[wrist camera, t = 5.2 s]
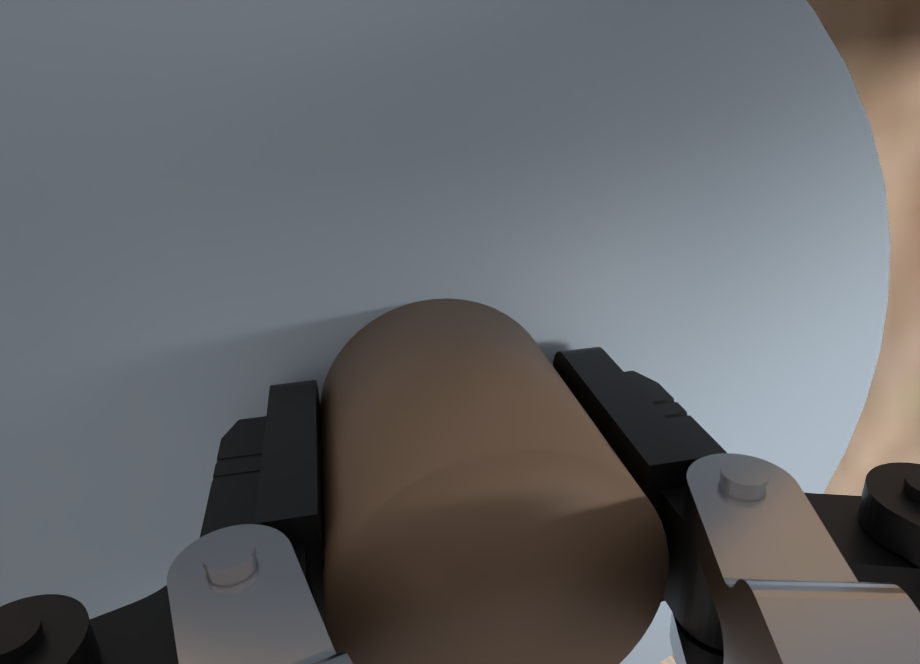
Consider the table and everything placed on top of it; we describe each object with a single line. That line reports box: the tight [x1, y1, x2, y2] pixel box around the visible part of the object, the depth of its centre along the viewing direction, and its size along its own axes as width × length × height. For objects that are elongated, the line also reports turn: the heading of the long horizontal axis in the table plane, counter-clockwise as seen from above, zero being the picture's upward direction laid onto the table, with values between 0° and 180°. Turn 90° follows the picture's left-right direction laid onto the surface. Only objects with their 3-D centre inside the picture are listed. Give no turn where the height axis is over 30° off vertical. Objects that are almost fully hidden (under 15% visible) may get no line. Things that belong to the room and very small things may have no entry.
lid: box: [0, 0, 890, 664], centre depth 11 cm, size 17×17×6 cm
